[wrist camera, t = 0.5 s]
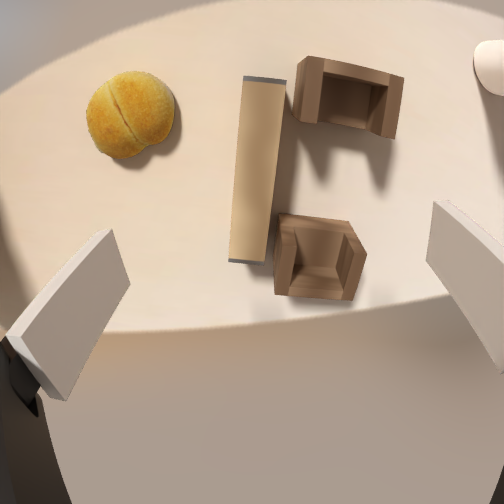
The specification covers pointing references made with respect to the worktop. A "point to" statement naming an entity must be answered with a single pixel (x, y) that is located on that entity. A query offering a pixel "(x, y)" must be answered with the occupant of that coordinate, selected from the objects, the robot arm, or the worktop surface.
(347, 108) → the post
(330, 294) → the post
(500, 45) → the can
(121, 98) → the bread roll
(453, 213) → the robot arm
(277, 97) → the rail
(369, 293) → the worktop surface
